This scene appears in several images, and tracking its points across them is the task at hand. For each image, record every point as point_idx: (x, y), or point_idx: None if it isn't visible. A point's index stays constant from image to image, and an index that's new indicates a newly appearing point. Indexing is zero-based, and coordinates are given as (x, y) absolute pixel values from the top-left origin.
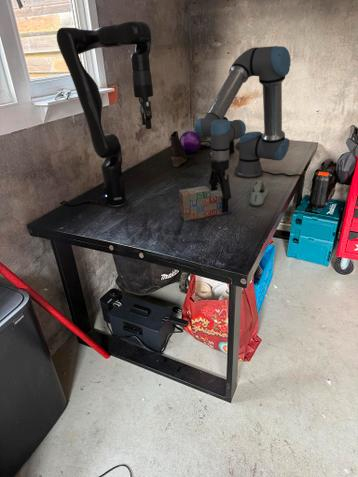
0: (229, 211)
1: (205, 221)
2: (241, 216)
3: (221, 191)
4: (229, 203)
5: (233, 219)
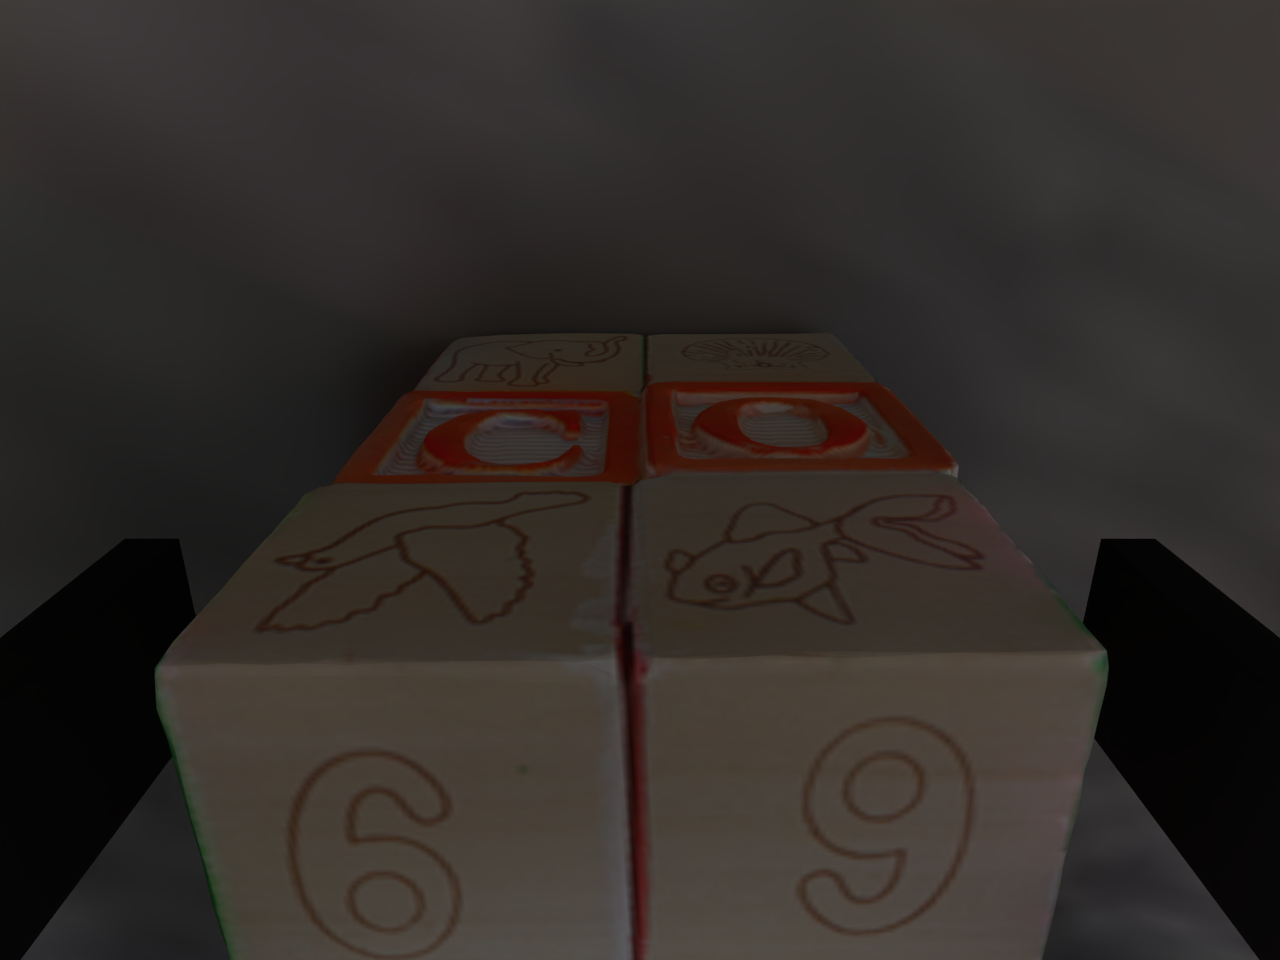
0: (841, 343)
1: None
2: (1185, 82)
3: (511, 933)
4: (919, 435)
5: (1210, 375)
